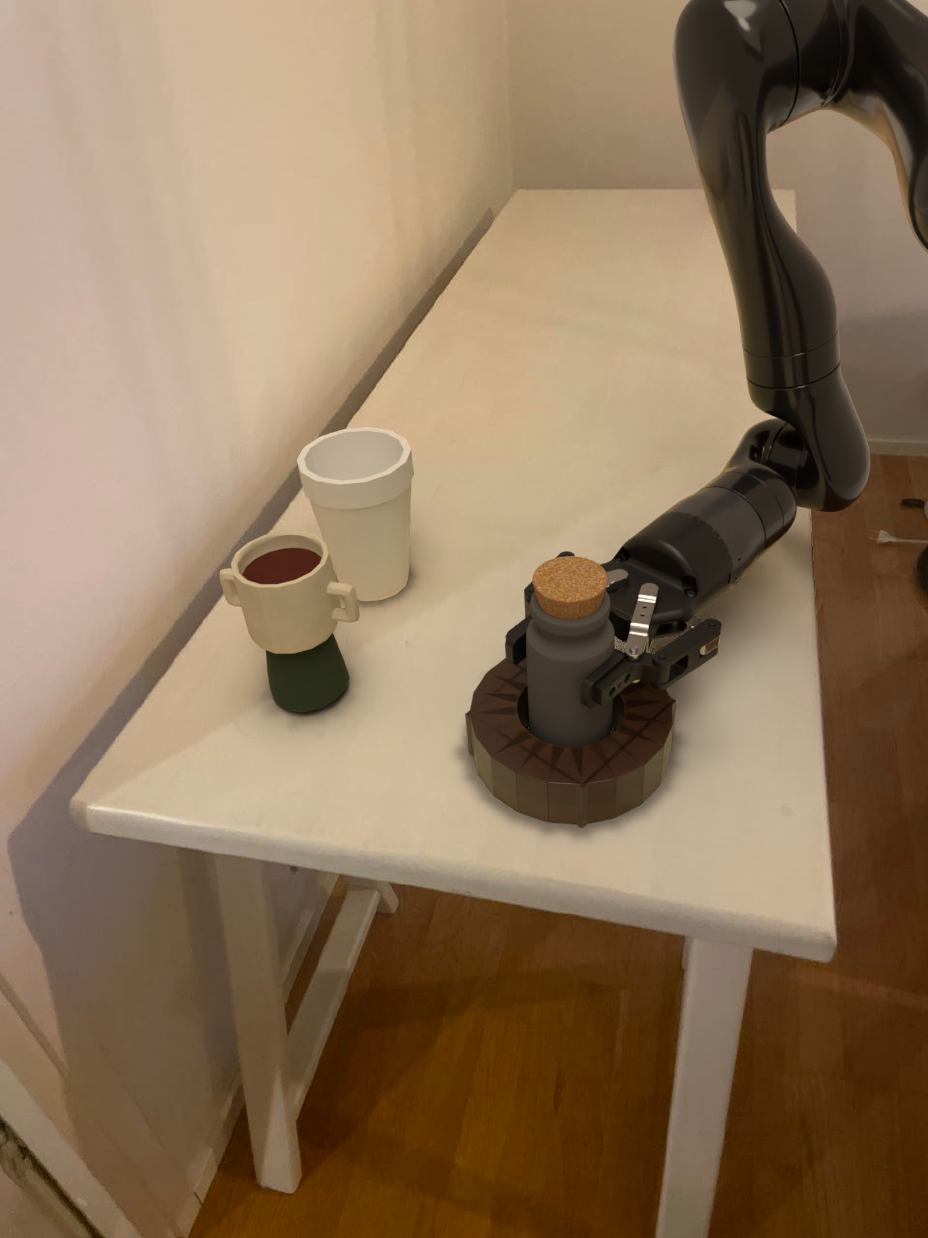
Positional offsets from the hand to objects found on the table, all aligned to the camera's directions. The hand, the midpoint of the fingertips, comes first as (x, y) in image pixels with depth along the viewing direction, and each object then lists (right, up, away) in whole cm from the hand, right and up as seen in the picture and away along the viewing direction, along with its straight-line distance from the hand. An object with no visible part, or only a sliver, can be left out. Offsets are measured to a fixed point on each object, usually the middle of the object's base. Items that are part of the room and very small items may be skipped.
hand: (547, 674), depth 61 cm
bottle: (+2, -5, +7) cm, 9 cm away
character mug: (-18, -2, +13) cm, 22 cm away
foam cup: (-14, +7, +24) cm, 29 cm away
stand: (+2, -6, +7) cm, 9 cm away
